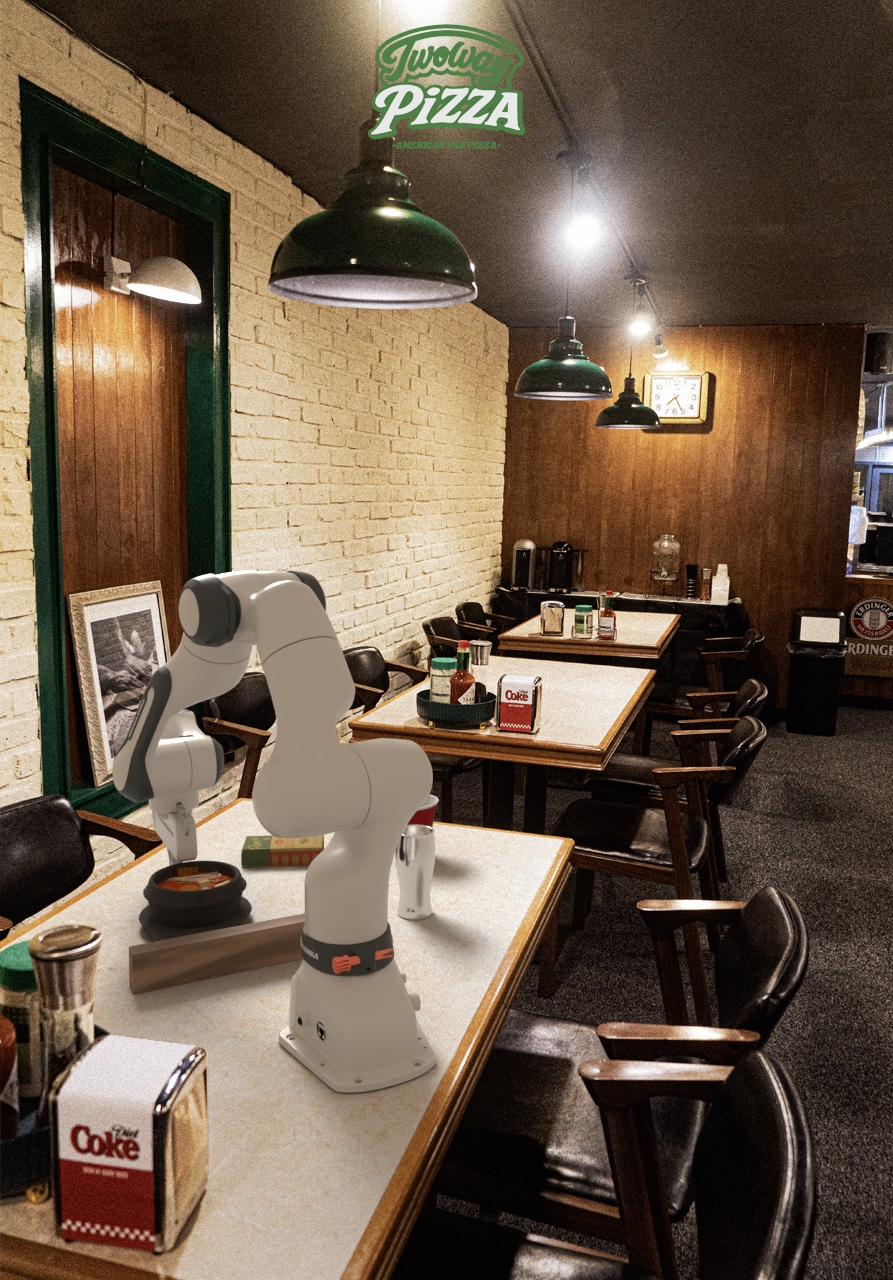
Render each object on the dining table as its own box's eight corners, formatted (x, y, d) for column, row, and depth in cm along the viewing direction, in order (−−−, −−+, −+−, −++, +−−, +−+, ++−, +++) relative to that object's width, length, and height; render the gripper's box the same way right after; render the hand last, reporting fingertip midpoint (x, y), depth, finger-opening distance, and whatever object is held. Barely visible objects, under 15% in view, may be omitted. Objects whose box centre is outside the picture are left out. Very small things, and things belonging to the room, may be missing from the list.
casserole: (149, 897, 173) (148, 852, 172) (254, 891, 176) (253, 847, 175) (127, 959, 149) (125, 907, 148) (249, 951, 152) (248, 901, 151)
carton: (322, 867, 190) (322, 846, 189) (240, 869, 188) (240, 848, 188) (324, 852, 198) (324, 832, 198) (245, 854, 197) (245, 834, 196)
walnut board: (317, 955, 151) (317, 919, 150) (133, 994, 138) (132, 954, 137) (310, 947, 153) (310, 912, 153) (129, 985, 140) (128, 946, 140)
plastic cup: (387, 846, 201) (387, 791, 200) (438, 847, 201) (439, 792, 200) (383, 865, 191) (383, 806, 189) (437, 866, 190) (438, 807, 189)
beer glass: (387, 911, 168) (387, 829, 166) (418, 902, 172) (418, 821, 170) (411, 924, 163) (412, 839, 161) (442, 914, 167) (443, 831, 165)
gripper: (205, 809, 167) (207, 885, 168) (179, 781, 184) (180, 850, 186) (168, 814, 164) (170, 892, 165) (145, 785, 182) (147, 855, 183)
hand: (175, 869), depth 176 cm, fingers closed
